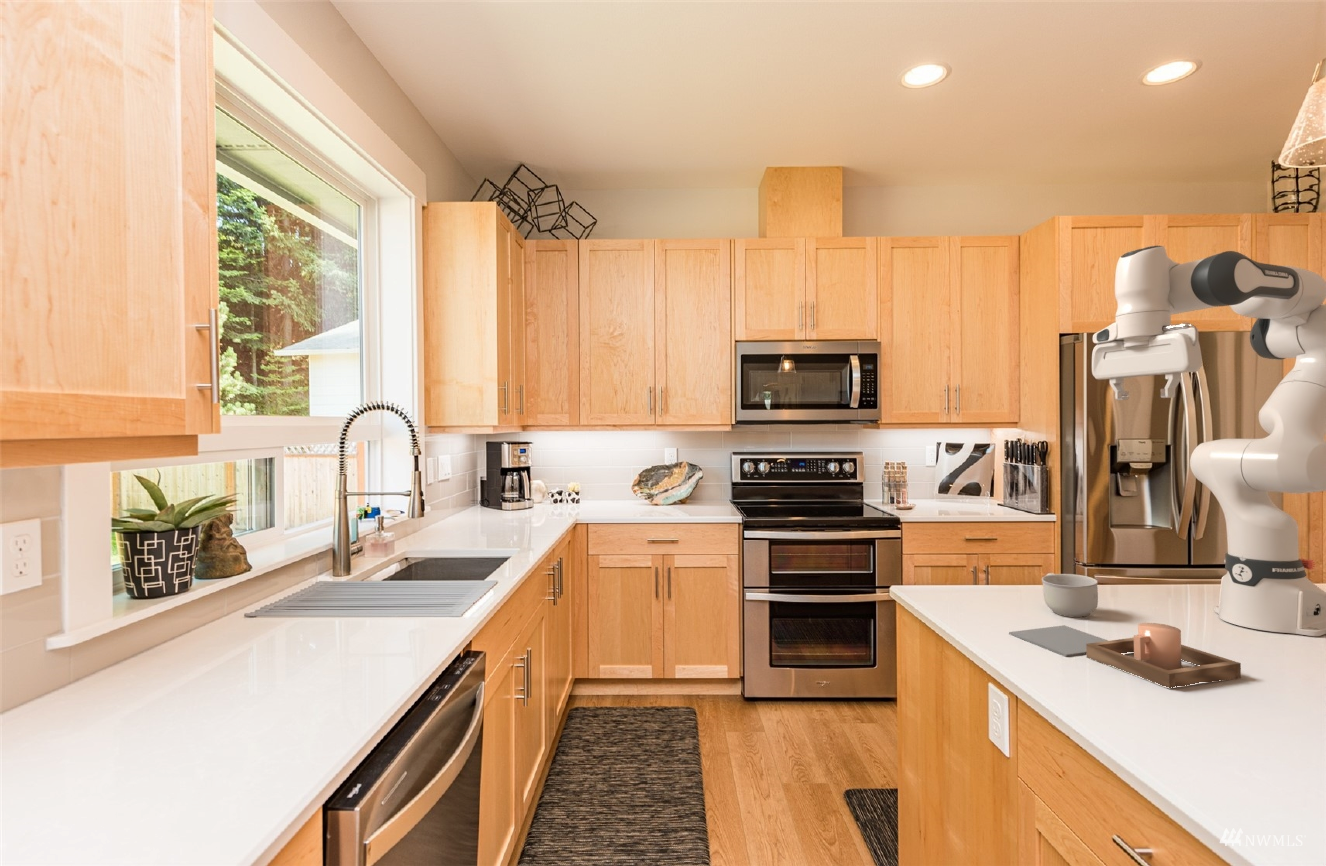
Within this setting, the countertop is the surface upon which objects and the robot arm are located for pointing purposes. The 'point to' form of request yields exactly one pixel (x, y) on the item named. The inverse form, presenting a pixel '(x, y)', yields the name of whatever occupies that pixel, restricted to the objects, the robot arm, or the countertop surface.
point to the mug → (1158, 645)
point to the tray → (1206, 672)
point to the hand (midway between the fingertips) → (1144, 399)
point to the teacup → (1070, 594)
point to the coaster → (1059, 639)
